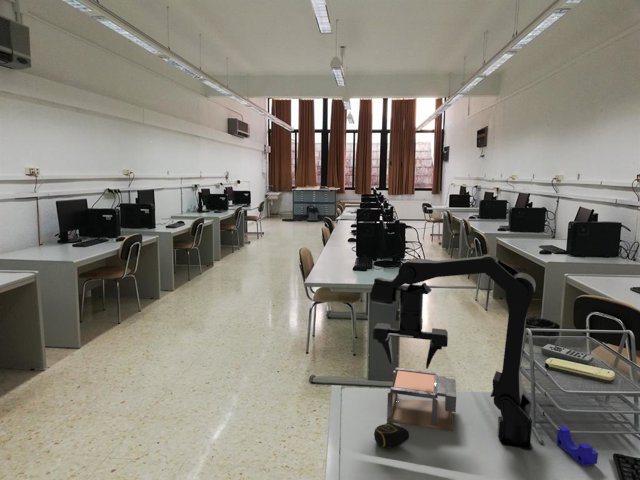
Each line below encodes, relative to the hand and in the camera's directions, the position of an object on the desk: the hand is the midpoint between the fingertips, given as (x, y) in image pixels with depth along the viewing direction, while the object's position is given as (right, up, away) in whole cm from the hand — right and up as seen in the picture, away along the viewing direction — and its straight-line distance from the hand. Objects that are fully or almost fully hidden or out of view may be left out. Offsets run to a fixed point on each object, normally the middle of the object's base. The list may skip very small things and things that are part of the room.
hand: (408, 365), depth 112 cm
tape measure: (-4, -14, -14) cm, 20 cm away
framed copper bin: (+3, -12, +1) cm, 13 cm away
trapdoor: (+4, -8, 0) cm, 9 cm away
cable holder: (+34, -15, -16) cm, 41 cm away
